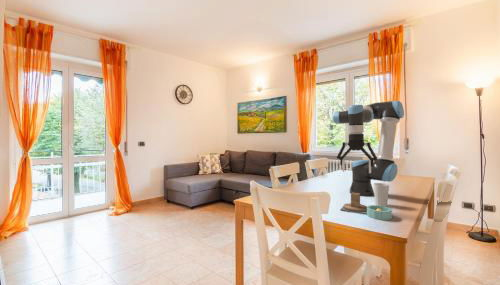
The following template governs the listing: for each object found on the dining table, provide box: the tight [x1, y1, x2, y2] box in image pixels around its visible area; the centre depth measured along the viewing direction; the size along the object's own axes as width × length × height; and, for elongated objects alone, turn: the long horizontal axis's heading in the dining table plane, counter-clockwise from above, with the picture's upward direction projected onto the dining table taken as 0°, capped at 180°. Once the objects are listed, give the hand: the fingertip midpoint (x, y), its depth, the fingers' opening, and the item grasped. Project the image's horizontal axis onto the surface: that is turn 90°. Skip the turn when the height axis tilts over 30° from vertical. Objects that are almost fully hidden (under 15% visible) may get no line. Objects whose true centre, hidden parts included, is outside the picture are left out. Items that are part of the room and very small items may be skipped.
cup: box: [373, 182, 390, 207], centre depth 139 cm, size 8×8×12 cm
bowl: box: [366, 204, 393, 221], centre depth 121 cm, size 11×11×4 cm
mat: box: [340, 205, 367, 216], centre depth 132 cm, size 13×13×1 cm
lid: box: [343, 192, 368, 212], centre depth 132 cm, size 12×12×8 cm
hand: (356, 172), depth 134 cm, fingers open, 13 cm apart
